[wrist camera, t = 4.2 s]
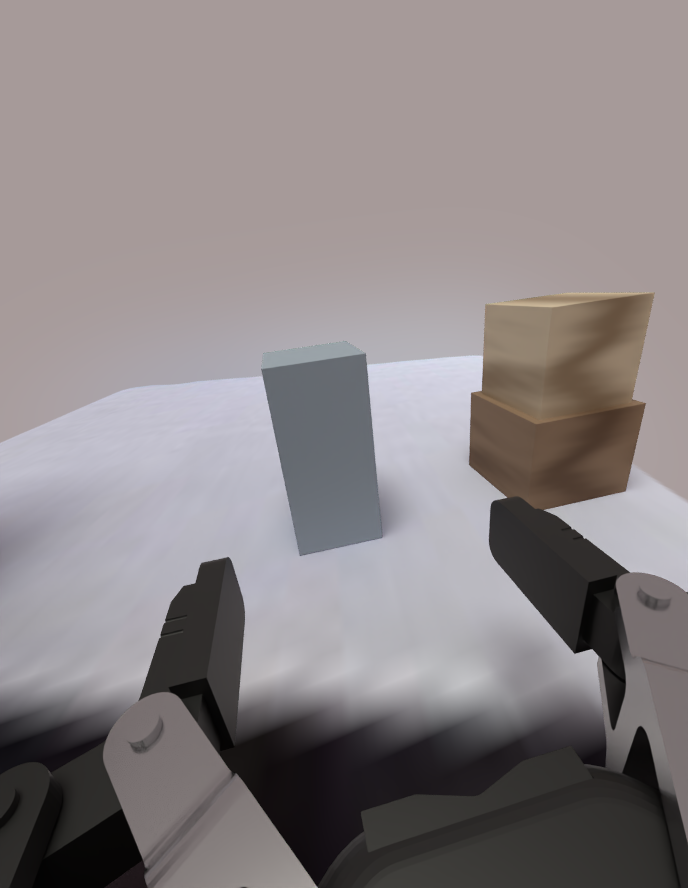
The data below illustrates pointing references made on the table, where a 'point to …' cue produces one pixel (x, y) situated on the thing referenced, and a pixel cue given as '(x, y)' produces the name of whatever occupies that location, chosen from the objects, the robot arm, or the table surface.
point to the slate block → (325, 443)
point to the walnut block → (553, 451)
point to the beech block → (564, 351)
